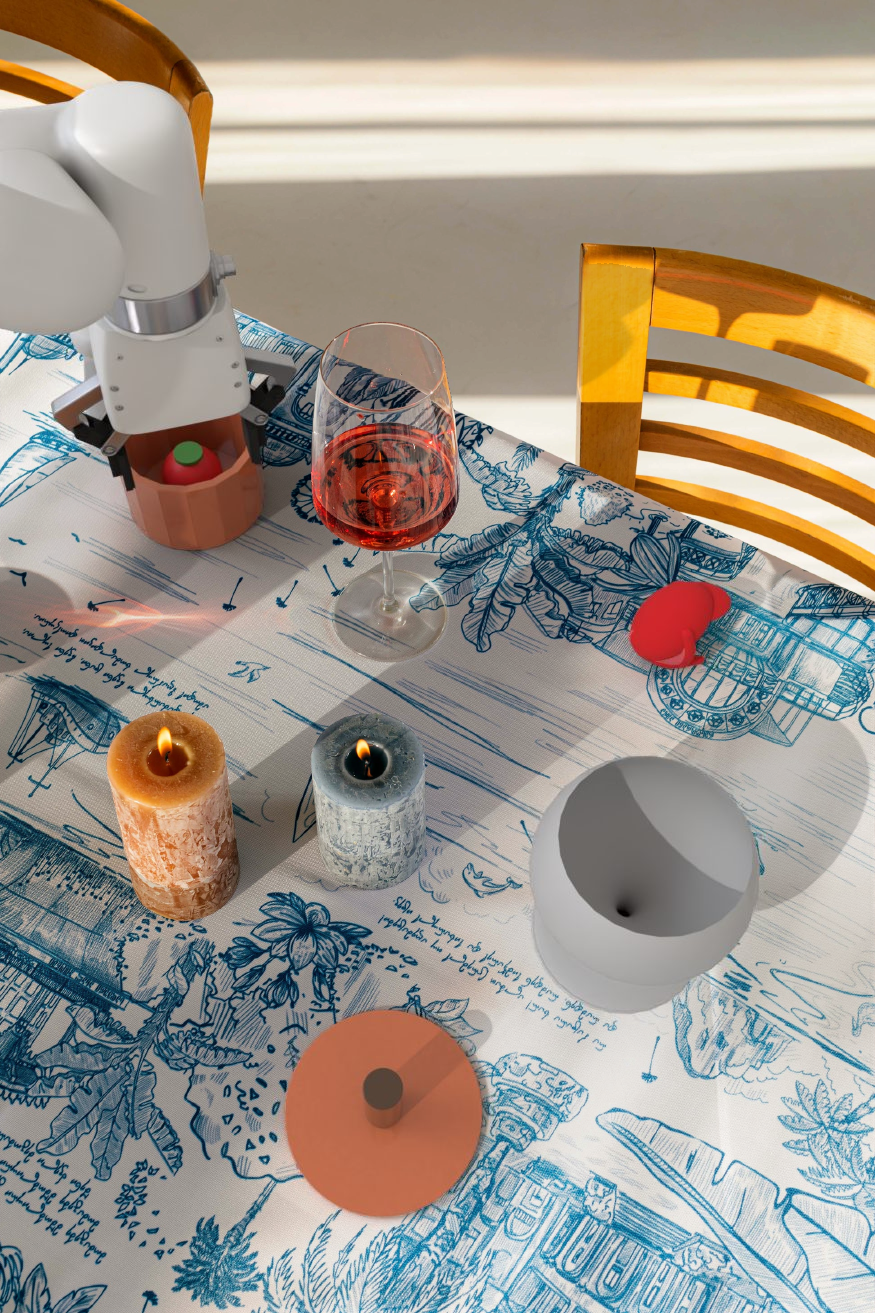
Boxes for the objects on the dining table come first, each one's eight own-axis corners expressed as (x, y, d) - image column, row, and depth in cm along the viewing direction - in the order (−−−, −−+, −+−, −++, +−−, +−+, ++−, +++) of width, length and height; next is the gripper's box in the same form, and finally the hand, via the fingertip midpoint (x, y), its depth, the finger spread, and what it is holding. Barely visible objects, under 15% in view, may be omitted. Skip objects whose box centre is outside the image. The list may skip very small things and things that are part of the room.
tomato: (161, 514, 100) (151, 472, 96) (172, 470, 103) (163, 427, 99) (221, 518, 100) (213, 477, 96) (230, 473, 103) (223, 431, 99)
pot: (117, 545, 99) (98, 486, 93) (143, 443, 105) (127, 381, 99) (254, 554, 99) (245, 496, 93) (272, 451, 105) (264, 389, 99)
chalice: (751, 906, 84) (814, 816, 71) (655, 1075, 78) (706, 1009, 65) (580, 802, 88) (611, 699, 75) (475, 955, 81) (490, 870, 69)
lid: (273, 1212, 73) (263, 1195, 67) (298, 1008, 79) (290, 977, 74) (477, 1226, 72) (484, 1210, 67) (484, 1021, 79) (491, 991, 74)
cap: (662, 696, 93) (677, 655, 88) (609, 645, 95) (621, 602, 90) (733, 643, 96) (751, 600, 91) (679, 595, 98) (695, 550, 93)
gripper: (272, 225, 81) (289, 407, 95) (11, 270, 77) (69, 451, 92) (300, 298, 77) (313, 476, 91) (26, 348, 73) (84, 525, 88)
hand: (191, 463), depth 91 cm, fingers open, 9 cm apart
